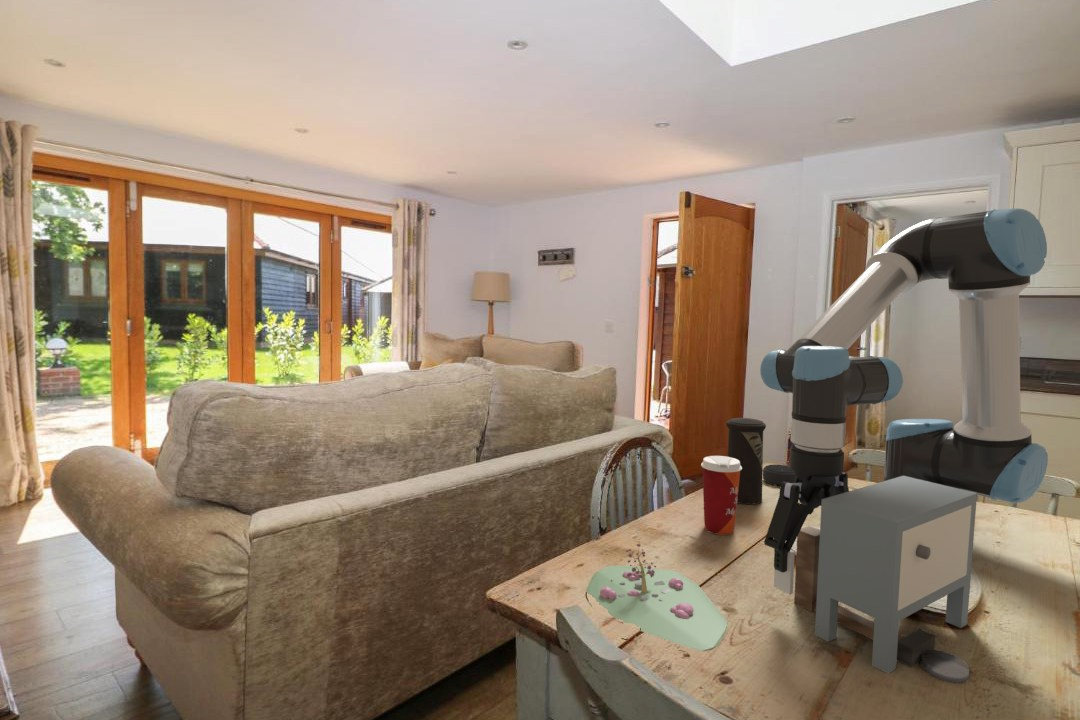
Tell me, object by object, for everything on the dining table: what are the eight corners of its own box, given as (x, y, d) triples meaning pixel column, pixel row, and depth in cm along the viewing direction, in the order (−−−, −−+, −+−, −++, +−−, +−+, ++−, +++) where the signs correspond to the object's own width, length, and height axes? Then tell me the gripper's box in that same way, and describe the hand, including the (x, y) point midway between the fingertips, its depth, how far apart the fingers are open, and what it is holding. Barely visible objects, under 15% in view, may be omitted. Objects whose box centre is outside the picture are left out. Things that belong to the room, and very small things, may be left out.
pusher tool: (788, 605, 89) (791, 531, 88) (811, 595, 92) (814, 524, 91) (911, 667, 73) (917, 579, 72) (934, 653, 76) (940, 568, 75)
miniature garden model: (767, 619, 86) (770, 562, 85) (679, 672, 73) (681, 605, 72) (644, 561, 105) (645, 514, 105) (559, 594, 93) (559, 541, 92)
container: (758, 507, 132) (762, 424, 130) (720, 500, 137) (722, 419, 135) (765, 497, 139) (769, 418, 138) (728, 491, 144) (731, 414, 142)
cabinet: (895, 594, 92) (903, 475, 90) (975, 627, 83) (985, 495, 81) (814, 634, 81) (821, 499, 79) (896, 678, 71) (905, 525, 69)
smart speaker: (764, 486, 149) (765, 471, 148) (761, 476, 157) (761, 462, 157) (801, 489, 146) (801, 474, 146) (795, 479, 155) (796, 465, 155)
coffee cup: (742, 538, 114) (745, 466, 113) (700, 535, 116) (702, 464, 115) (736, 523, 123) (739, 455, 121) (697, 520, 124) (699, 453, 123)
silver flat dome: (933, 656, 76) (934, 645, 76) (976, 677, 72) (977, 666, 72) (913, 667, 74) (913, 656, 74) (955, 690, 69) (956, 678, 69)
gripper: (839, 432, 96) (833, 552, 98) (742, 451, 83) (737, 589, 85) (885, 441, 90) (877, 569, 92) (787, 463, 77) (781, 611, 79)
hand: (810, 579), depth 88 cm, fingers open, 13 cm apart
